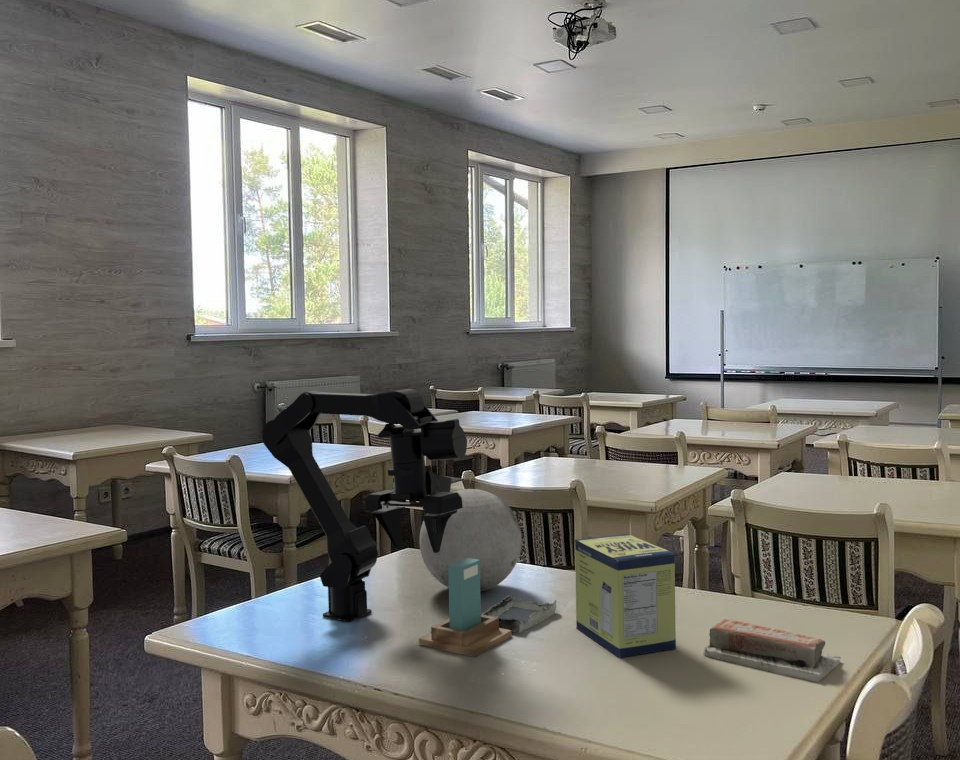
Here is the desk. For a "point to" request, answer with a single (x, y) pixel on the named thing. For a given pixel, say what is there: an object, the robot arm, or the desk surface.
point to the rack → (466, 637)
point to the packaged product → (770, 650)
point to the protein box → (625, 594)
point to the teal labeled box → (464, 594)
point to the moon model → (476, 539)
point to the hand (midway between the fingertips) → (417, 550)
